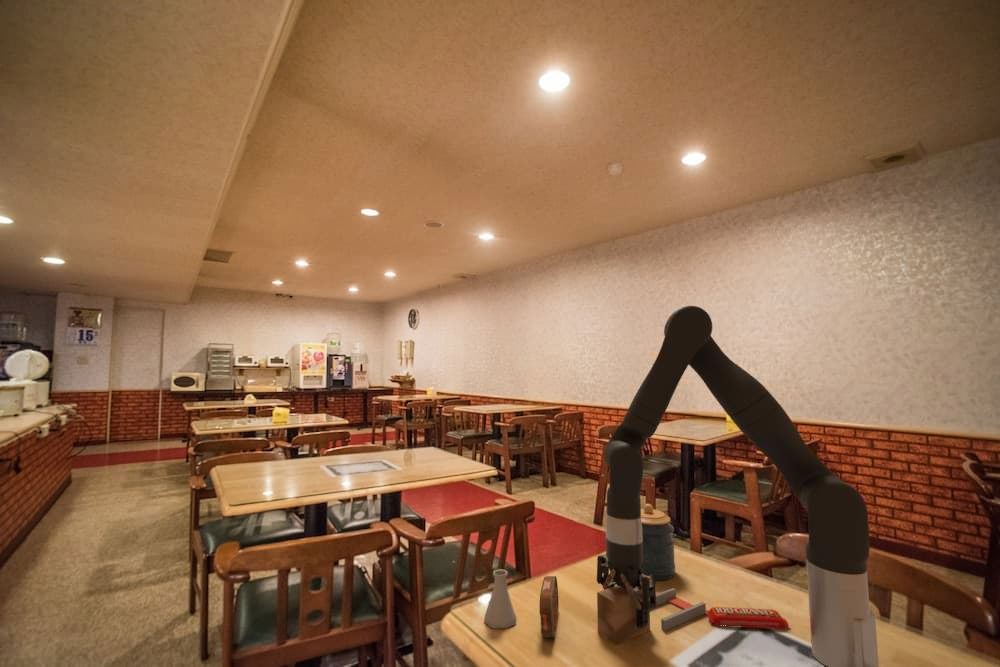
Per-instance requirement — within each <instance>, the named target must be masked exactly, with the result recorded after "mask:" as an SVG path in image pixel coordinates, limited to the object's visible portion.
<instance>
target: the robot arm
mask: <svg viewBox="0 0 1000 667" xmlns="http://www.w3.org/2000/svg"><path fill="white" fill-rule="evenodd" d="M712 332H713V321H712V318H711V317H710V314H709V313H708V312H707V311H706V310H705V309H703V308H702V307H699V306H696V305H685V306H681V307H680V308H677V309H676V310H675V311H673V313H671V314H670V315H669V317H668V318H667V320H666V323H665V325H664V329H663V336H664V339H663V341H662V345H661V347H660V349H659V352H658V354H657V356H656V359H655V360H654V363H653V364H652V367H650V370H649V372H648V373H647V374H646V376H645V378H644V379H643V381H642V383H641V385H640V387H639V388H638V389H637V392H636V393H635V395H634V397H633V399H632V401H631V403H630V405H629V407H628V409H627V411H626V413H625V415H624V417H623V420H622V421H621V423H620V424H619V425H618V427H616V430H615V431H614V433H613V434H612V435H611V437H610V439H609V440H608V442H607V443H606V446H605V449H604V453H603V456H604V457H603V458H604V461H605V463H606V464H607V466H608V468H609V487H608V489H607V491H606V520H605V554H601V555H597V561H596V563H597V564H596V565H597V567H596V582H597V584H598V585H601V586H602V589H603V590H605V589H608V588H611V587H614V586H617V585H618V586H621V587H622V588H624V589H625V590H627V591H628V593H629V595H630V597H631V598H633V600H634V602H635V604H636V606H637V608H636V626H637V627H638V628H640V629H641V628H644V627H646V625H647V624H648V610H652V609H655V608H657V607H658V605H656V594H657V593H656V592H657V591H656V580H655V578H654V576H653V575H650V576H646V575H644V574H642V571H641V564H642V561H643V536H642V522H641V506H642V504H641V503H642V502H641V490H642V483H643V476H644V460H643V457H642V456H643V455H642V453H641V450H642V447H643V445H645V443H646V441H647V439H650V438H652V436H654V434H655V433H656V431H657V430H658V427H659V426H660V423H661V422H662V420H663V418H664V416H665V413H666V411H667V410H668V407H669V405H670V402H671V400H672V398H673V396H674V395H675V394H674V393H675V391H676V389H677V387H678V385H679V383H680V381H681V378H682V377H683V375H684V374H685V372H686V370H687V368H688V366H690V368H692V370H694V372H695V373H696V374H697V375H698V377H699V378H700V379H701V380H702V381H703V383H704V384H705V386H706V387H707V389H708V390H709V391H710V393H711V394H712V396H713V397H714V398H715V400H716V401H717V403H718V404H719V406H721V408H722V409H723V411H724V412H725V413H726V414H727V416H729V419H730V420H732V422H733V423H734V424H735V426H737V428H738V429H739V430H740V431H741V433H742V434H743V435H744V436H745V437H746V438H747V439H748V440H749V442H751V443H752V444H753V446H755V447H756V449H758V450H759V451H760V452H761V453H762V454H763V455H764V456H765V457H766V458H767V459H768V460H769V461H770V462H771V463H772V464H773V465H774V466H775V467H776V469H778V471H779V473H780V474H781V475H782V477H783V478H784V479H785V482H786V483H787V484H788V485H789V487H790V488H791V490H792V492H793V493H794V494H795V496H796V497H797V499H798V500H799V502H800V504H801V505H802V507H803V509H804V510H805V511H806V513H807V519H808V522H807V523H808V542H807V543H806V545H805V558H806V572H807V573H806V574H807V590H808V591H807V593H808V608H809V611H808V612H809V624H810V626H809V627H810V642H811V653H813V654H812V656H813V657H814V659H816V660H817V661H818V662H819V663H820V664H822V665H824V666H825V665H826V666H825V667H827V666H828V667H880V664H879V662H880V661H879V648H878V636H877V624H876V614H875V613H874V612H873V611H872V612H871V609H870V595H869V582H868V567H867V563H868V559H869V557H870V527H869V526H870V525H869V522H870V521H869V513H868V507H867V503H866V501H865V499H864V497H863V495H862V494H861V493H860V492H859V491H858V490H857V489H856V488H855V487H854V486H852V485H850V484H848V483H847V482H845V481H844V480H842V478H840V477H839V476H837V475H836V474H835V473H834V472H833V471H832V470H830V469H829V468H828V467H827V466H826V465H825V463H823V462H822V461H821V460H820V459H819V458H818V457H817V455H816V454H815V453H813V451H812V450H811V449H810V447H808V445H807V444H806V442H805V441H804V439H803V437H802V435H801V434H800V432H799V431H798V429H797V427H796V425H795V424H794V423H793V421H792V419H791V418H790V416H789V415H788V413H787V412H786V411H785V409H784V408H783V406H782V405H781V404H780V403H779V402H778V400H777V399H776V398H775V397H774V396H773V395H772V393H770V391H769V390H768V389H767V388H766V387H765V386H764V385H763V384H762V383H761V382H760V381H758V379H756V378H755V377H754V376H753V375H752V374H750V373H749V372H748V371H747V370H745V369H744V368H742V367H740V365H739V364H736V362H734V361H733V360H732V359H730V357H728V356H727V355H726V354H725V352H723V350H722V349H721V347H720V346H719V345H718V343H717V342H716V341H715V339H714V338H713V337H712ZM636 587H638V591H634V590H633V589H634V588H636ZM638 595H639V596H640V598H641V600H642V602H641V601H640V599H639V597H638ZM649 598H650V601H649Z"/></svg>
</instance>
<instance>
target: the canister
mask: <svg viewBox="0 0 1000 667" xmlns="http://www.w3.org/2000/svg"><path fill="white" fill-rule="evenodd" d="M641 522H642V536H643V561H642V564H641V571H642V574H644V575H646V576H650V575H653V576H654V578H655V581H666V580H669V579H672V578H673V577H674V576H675V573H676V563H675V539H674V538H673V532H674V531H675V528H674V526H673V525H672V524H671V517H670V516H668V515H667V514H665V513H664V512H663V511H662V510H659V509H655V508H654V506H653V505H652V504H651V503H645V504H644V505H643V508H641Z"/></svg>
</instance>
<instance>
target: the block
mask: <svg viewBox="0 0 1000 667" xmlns="http://www.w3.org/2000/svg"><path fill="white" fill-rule="evenodd" d="M633 590H634V591H638V587H636V588H634V589H633ZM638 597H639V599H640V601H641V602H642V600H641V598H640V596H639V595H638ZM596 598H597V599H596V602H597V604H596V605H597V633H598V634H599V635H601V636H602V637H604V638H605V639H607V640H608V641H609V642H611V643H612V644H614V645H615V646H617V645H619V644H622V643H625V642H626V641H628V640H630V639H633V638H635V637H637V636H639V635H642V634H645V633H646V632H649V631H650V630H651V618H650V616H651V615H650V610H651V609H650V610H648V624H647V625H646V627H644V628H641V629H640V628H638V627H637V626H636V608H637V606H636V604H635V602H634V600H633V598H631V597H630V595H629V593H628V591H627V590H625V589H624V588H622V587H621V586H618V585H615V586H614V587H611V588H608V589H605V590H604V589H603V590H600V591H597V592H596Z"/></svg>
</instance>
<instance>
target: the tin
mask: <svg viewBox="0 0 1000 667" xmlns="http://www.w3.org/2000/svg"><path fill="white" fill-rule="evenodd" d="M559 605H560V604H559V588H558V579H557V576H556V575H554V576H553V575H552V576H551V575H545V576H544V577H543V580H542V585H541V590H540V594H539V617H540V626H541V627H540V633H541V636H542V637H545V638H553V639H555V638H556V635H557V628H558V627H557V626H558V620H559Z"/></svg>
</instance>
